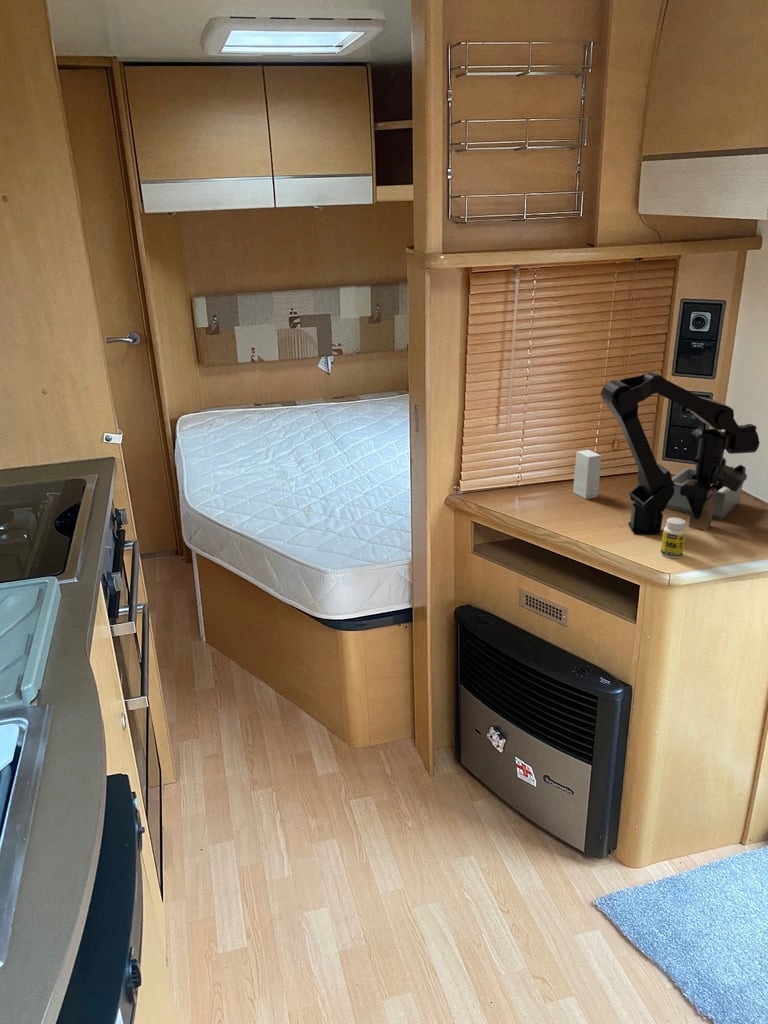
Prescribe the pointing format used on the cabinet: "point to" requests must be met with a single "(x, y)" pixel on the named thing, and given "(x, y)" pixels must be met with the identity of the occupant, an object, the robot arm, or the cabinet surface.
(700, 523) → the walnut peg
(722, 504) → the peg socket
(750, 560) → the cabinet surface
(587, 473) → the skincare box
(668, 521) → the supplement bottle
